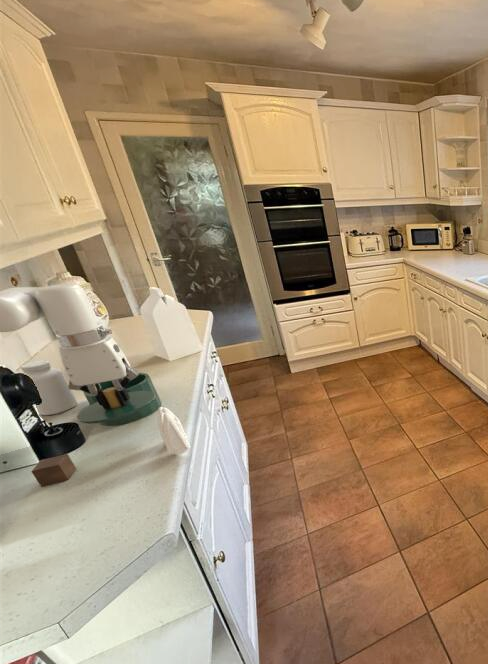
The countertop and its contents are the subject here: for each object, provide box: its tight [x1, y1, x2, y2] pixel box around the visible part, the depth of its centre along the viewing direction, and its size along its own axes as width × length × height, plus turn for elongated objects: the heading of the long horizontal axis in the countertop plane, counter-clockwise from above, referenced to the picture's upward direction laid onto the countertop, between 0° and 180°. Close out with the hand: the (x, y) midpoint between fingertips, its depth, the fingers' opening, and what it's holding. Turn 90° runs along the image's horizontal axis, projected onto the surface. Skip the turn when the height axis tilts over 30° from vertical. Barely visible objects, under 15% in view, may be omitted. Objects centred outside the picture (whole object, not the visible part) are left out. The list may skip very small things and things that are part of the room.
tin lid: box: [76, 387, 155, 425], centre depth 99 cm, size 15×15×6 cm
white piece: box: [157, 406, 191, 456], centre depth 97 cm, size 12×4×11 cm, turn 45°
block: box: [31, 453, 77, 488], centre depth 89 cm, size 4×4×4 cm
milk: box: [139, 286, 205, 362], centre depth 150 cm, size 12×12×26 cm
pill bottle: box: [20, 359, 78, 416], centre depth 114 cm, size 8×8×15 cm
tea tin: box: [83, 372, 162, 427], centre depth 113 cm, size 14×14×10 cm
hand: (116, 404), depth 99 cm, fingers closed on tin lid, 2 cm apart
